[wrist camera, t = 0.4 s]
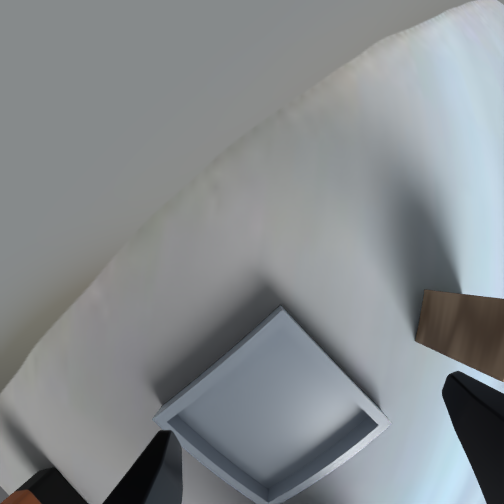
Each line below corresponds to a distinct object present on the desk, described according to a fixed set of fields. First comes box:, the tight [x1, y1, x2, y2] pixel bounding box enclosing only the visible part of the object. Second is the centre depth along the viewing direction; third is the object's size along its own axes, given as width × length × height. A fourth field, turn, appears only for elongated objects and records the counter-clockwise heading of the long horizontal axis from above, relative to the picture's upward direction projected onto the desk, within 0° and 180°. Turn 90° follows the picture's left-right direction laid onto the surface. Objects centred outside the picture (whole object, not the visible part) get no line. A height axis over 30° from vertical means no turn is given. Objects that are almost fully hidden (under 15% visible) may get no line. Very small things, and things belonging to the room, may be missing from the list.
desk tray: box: [152, 305, 392, 504], centre depth 20 cm, size 13×13×2 cm
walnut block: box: [415, 290, 504, 382], centre depth 16 cm, size 4×4×11 cm
